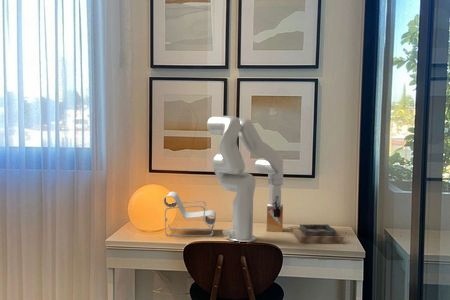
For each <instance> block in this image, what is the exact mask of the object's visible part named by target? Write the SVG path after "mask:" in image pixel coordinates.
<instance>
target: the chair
mask: <svg viewBox="0 0 450 300" xmlns="http://www.w3.org/2000/svg"><path fill="white" fill-rule="evenodd" d="M168 193H169V194H168ZM168 193H167V194H168V195H165V197H164V199H163V203H164V205H165V206H166V207H167V208H165V210H164V230H165V231H164V232H165V236H168V237H212V236H213V235H214V228H215V225H214V224H215V223H216V219H217V217H216V216H217V214H216V212H215V211H214V210H212V209H208V210H206V209H207V204H206V202H205V201H203V200H196V201H193V200H192V201H182V200H181V198H180V195H178V193H177V192H175V191H169V192H168ZM166 197H168V198H169V197H171V198H173V199H174V202H175V203H172V204H168V203H167V202H166ZM188 203H189V204H191V203H203V204H204V206H203V205H191V206H184V204H188ZM168 207H169V208H168ZM186 208H189V209H190V208H202V209H203V210H201V211H193V212H190V211H187V210H186ZM168 209H169V210H171V209H179V211H180V214H181V215H182V217H183V218H184V219H195V218H202V220H203V222H204V224H205V225H207V227H209V228H185V227H184V228H183V227H182V228H181V227H179V228H175V227H174V228H173V227H170V224H168V228H169V229H170V230H190V231H191V230H192V231H193V230H195V231H196V230H202V231H203V230H206V231H208V230H209V231H210V230H211V233H210V234H207V235H206V234H168V233H167V221H168V219H167V216H166V215H167V211H168ZM211 217H212V218H211Z"/></svg>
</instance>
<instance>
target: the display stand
mask: <svg viewBox="0 0 450 300" xmlns="http://www.w3.org/2000/svg"><path fill="white" fill-rule="evenodd" d="M292 234H293V236H294V237H295V239H296V240H297V241H298V243H300V244H345V243H344V241H345V240H344V239H345V237H344V235H342V234H341V233H340V232H338V231H337V230H336V229H335V228H334V227H331V225H329V224H299V227H292Z"/></svg>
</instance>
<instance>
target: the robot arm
mask: <svg viewBox="0 0 450 300" xmlns="http://www.w3.org/2000/svg"><path fill="white" fill-rule="evenodd" d="M206 128H207V131H208V132H209V133H210V134H212V135H214V136H215V135H219V136H221V138H220V141H219V144H218V150H219V151H218V152H219V153H217V154H215V156H214V157H213V158H212V169H213V172H214V174H215V176H216V178H217V180H218V182H219V184H220V185H221V188H222V189H224V190H225V191H227V192H234V193H236V194H235V196H234V198H233V200H232V228H231V229H229V230H222V235H223V236H225V237H226V236H227V237H228V236H229V237H228V240H230V241H231V242H234V241H239V242H238V243H240V242H247V243H253V242H255V241H257V237H256V235H254V234H253V232H254V231H253V229H254V228H253V225H254V223H253V222H254V196H255V195H254V194H255V191H256V190H255V189H256V183H257V181H256V179H255V176H254V175H253V174H251V173H248V172H244V171H245V169H246V164H245V160H244V158H243V156H242V153H241V151H240V148H239V146H238V138H239V139H240V140H241V142H242V144H243V146H244V148H246V150H247V151H248V152H249V153H251V154H253V155H255V156H258V157H260V158H258V159H256V161H254V170H255V171H256V172H257V173H261V174H267V175H268V177H267V179H268V181H267V183H268V186H269V192H268V202H269V204H271V205H273V204H274V217H280V204H282V186H283V185H284V159H283V158H282V157H281V156H280V155H279V154H278V152H277V151H276V150H275V149H274V148H273V147H271V146H270V145H269V144H268V143H266V142H265V141H263V139H262V138H261V136H260V134H259V132H258V131H257V128H256V127H255V125H254V123H253V122H252V120H250V119H248V118H245V117H243V118H242V117H237V116H235V115H234V116H233V115H212V116H210V117H209V119H208V120H207V123H206ZM275 205H276V206H275Z"/></svg>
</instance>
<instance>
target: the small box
mask: <svg viewBox="0 0 450 300" xmlns="http://www.w3.org/2000/svg"><path fill="white" fill-rule="evenodd" d="M266 205H267V206H266V231H267V232H281V233H282V232H283V227H284V226H283V225H284V221H283V220H284V219H283V218H284V204H282V203H281V204H280V217H274V204H273V205H271V203H267V204H266ZM275 206H276V205H275Z"/></svg>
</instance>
